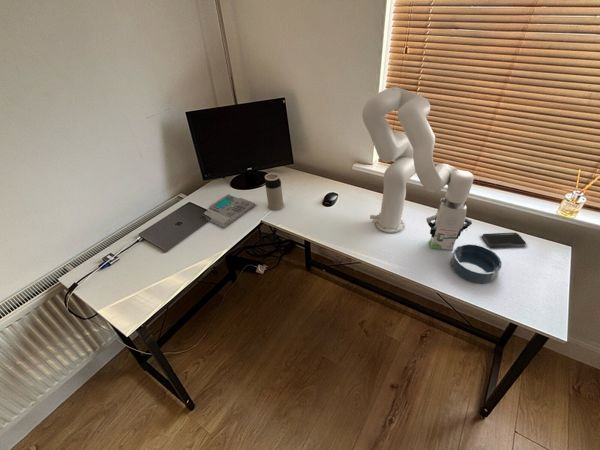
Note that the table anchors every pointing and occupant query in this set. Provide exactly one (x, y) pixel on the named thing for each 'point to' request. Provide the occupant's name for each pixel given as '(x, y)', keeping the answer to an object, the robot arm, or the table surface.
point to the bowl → (475, 263)
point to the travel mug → (274, 191)
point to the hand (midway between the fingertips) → (444, 236)
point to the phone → (503, 240)
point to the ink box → (444, 238)
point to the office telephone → (228, 210)
